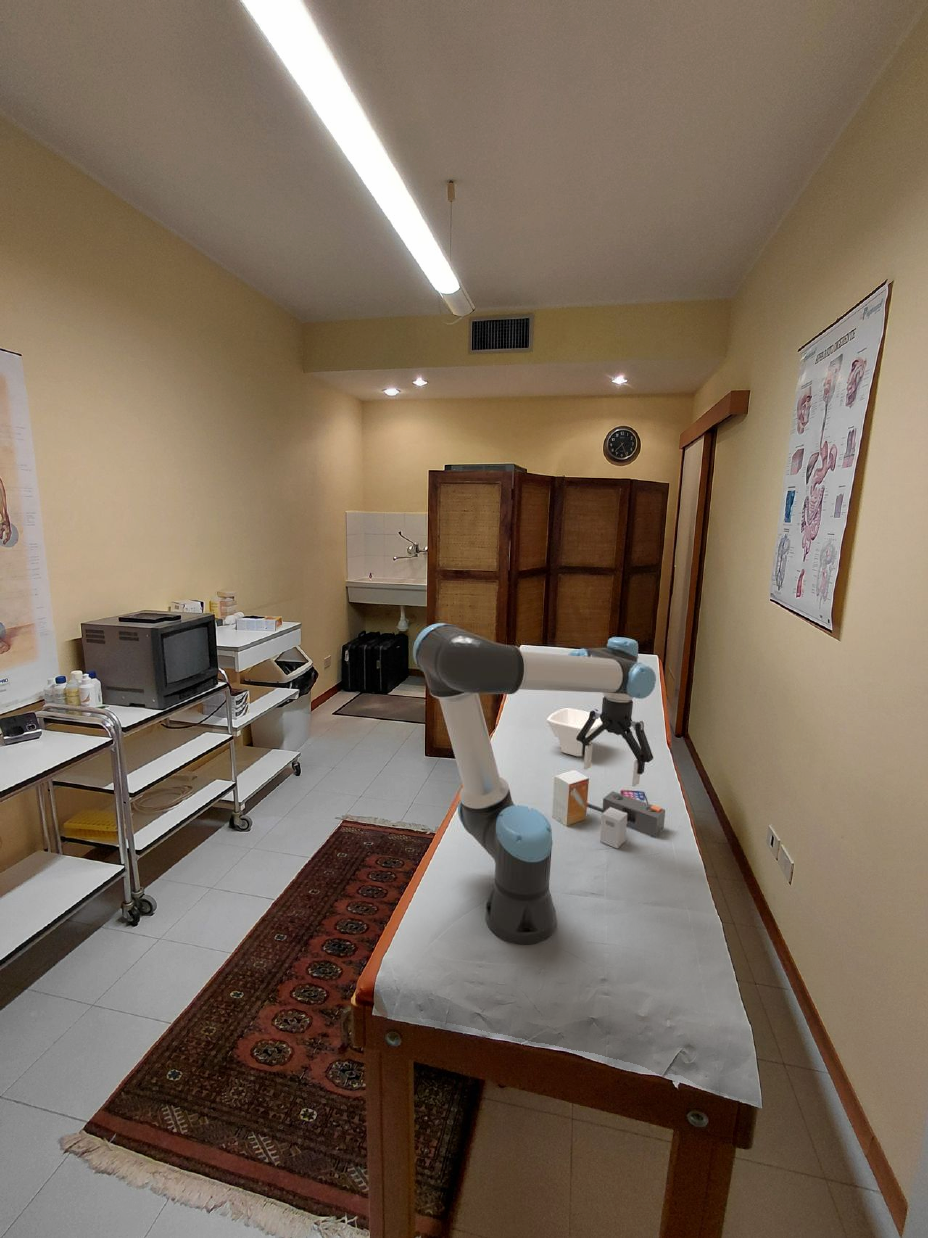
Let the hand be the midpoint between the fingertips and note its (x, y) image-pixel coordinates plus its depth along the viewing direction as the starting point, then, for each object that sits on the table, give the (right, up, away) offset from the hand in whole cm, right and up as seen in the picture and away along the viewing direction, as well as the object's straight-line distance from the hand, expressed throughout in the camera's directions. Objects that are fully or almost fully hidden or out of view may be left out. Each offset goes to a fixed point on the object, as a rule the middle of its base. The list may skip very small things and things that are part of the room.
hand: (610, 776), depth 142 cm
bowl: (+4, -10, +63) cm, 64 cm away
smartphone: (+15, -17, +27) cm, 35 cm away
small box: (-8, -17, +17) cm, 26 cm away
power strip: (+7, -17, +17) cm, 26 cm away
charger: (+3, -19, +6) cm, 20 cm away
